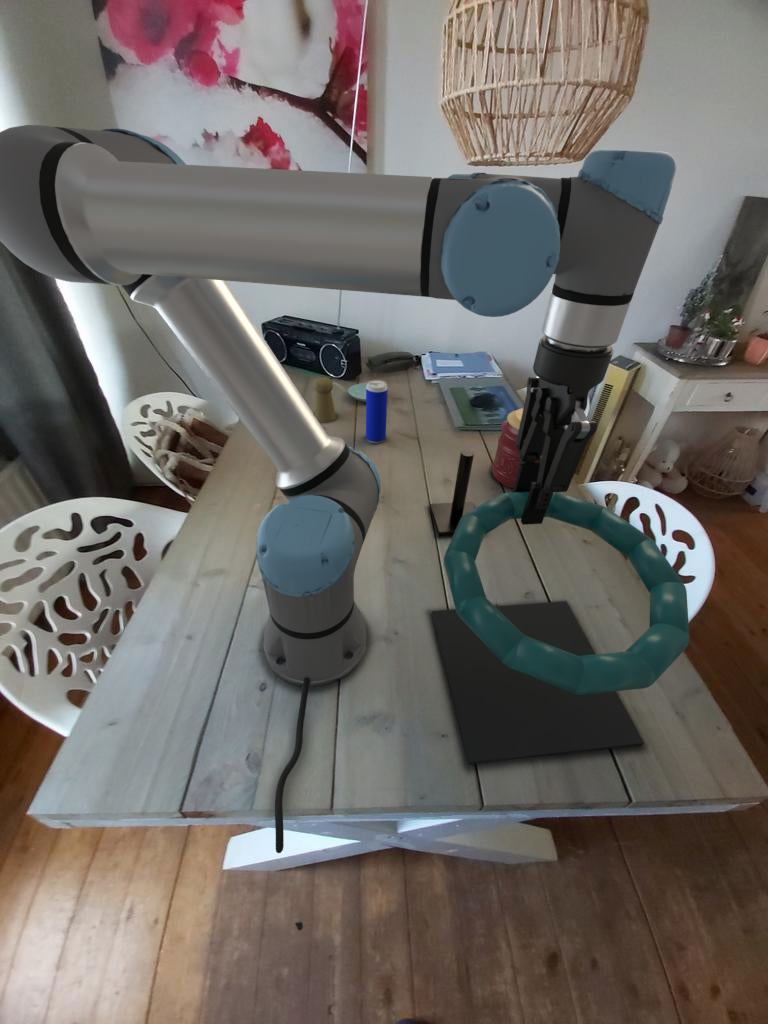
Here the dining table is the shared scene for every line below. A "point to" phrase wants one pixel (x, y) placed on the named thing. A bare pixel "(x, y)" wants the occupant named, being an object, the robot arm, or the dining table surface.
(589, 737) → the mat
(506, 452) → the kitchen canister
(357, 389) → the saucer
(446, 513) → the stand
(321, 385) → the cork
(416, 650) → the dining table surface
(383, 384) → the beverage can
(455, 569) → the hoop
